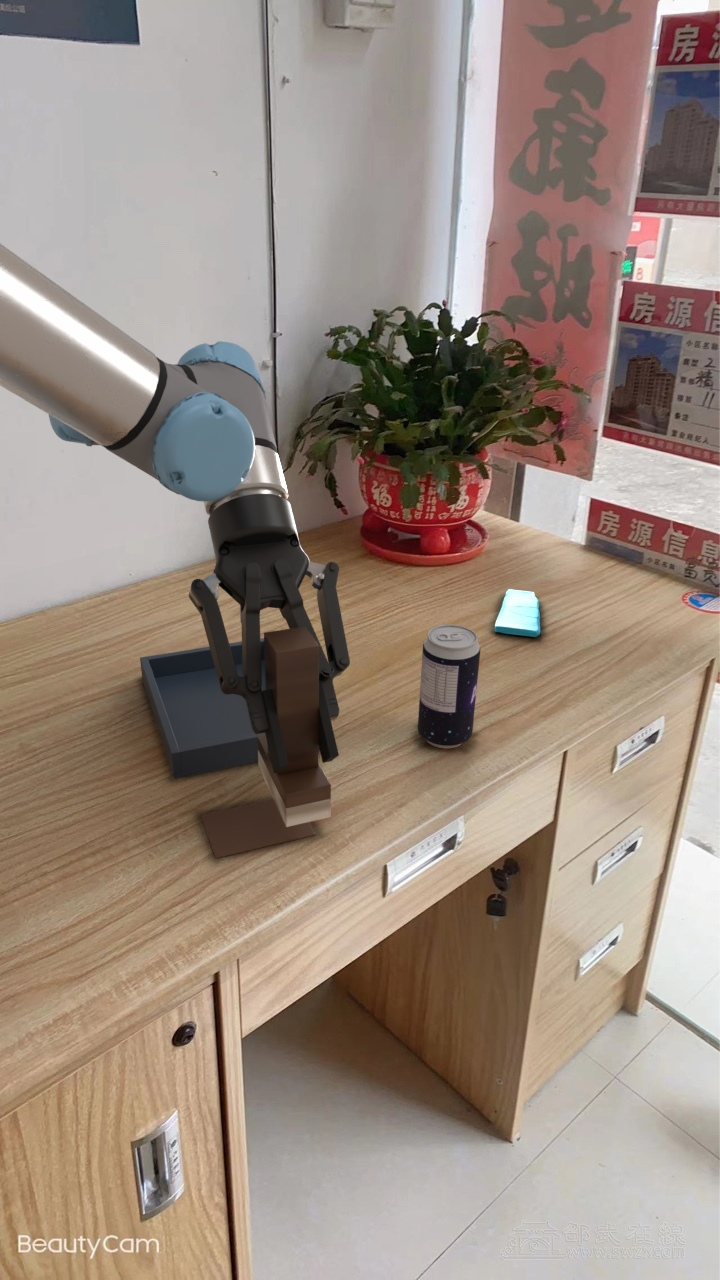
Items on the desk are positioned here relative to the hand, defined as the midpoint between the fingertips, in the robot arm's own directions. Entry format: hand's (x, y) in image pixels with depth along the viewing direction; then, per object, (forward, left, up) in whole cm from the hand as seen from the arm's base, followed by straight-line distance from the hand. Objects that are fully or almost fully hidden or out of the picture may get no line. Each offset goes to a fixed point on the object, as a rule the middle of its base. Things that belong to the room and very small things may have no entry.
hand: (306, 763), depth 73 cm
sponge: (+41, +33, -9) cm, 53 cm away
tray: (-1, +23, -9) cm, 24 cm away
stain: (-3, +4, -9) cm, 10 cm away
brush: (0, +4, -6) cm, 7 cm away
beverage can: (+19, +11, -9) cm, 23 cm away
